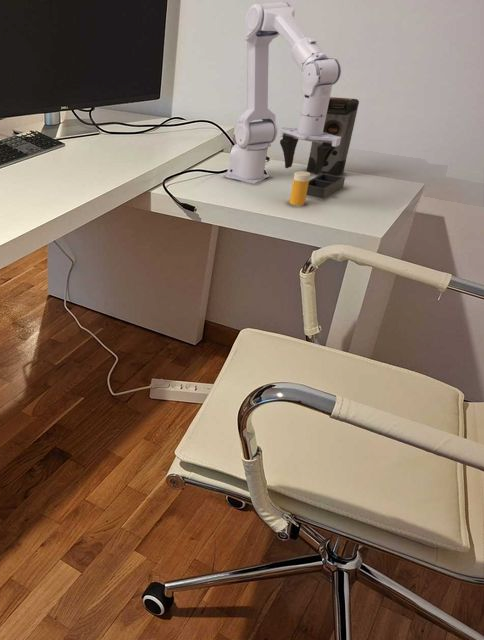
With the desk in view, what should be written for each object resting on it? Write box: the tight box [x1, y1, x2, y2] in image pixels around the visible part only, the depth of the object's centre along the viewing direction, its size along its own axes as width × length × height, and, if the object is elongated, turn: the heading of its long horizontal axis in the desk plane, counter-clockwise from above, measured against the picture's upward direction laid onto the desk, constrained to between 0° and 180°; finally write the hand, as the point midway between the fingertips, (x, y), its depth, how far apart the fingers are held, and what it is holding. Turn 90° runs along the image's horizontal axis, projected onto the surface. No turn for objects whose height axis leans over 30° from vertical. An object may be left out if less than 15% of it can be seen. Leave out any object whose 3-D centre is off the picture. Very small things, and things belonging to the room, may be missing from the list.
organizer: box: [306, 173, 346, 200], centre depth 175 cm, size 6×12×3 cm, turn 133°
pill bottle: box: [289, 170, 311, 206], centre depth 167 cm, size 4×4×8 cm
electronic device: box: [306, 96, 360, 177], centre depth 182 cm, size 9×6×20 cm, turn 58°
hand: (302, 170), depth 165 cm, fingers open, 7 cm apart
